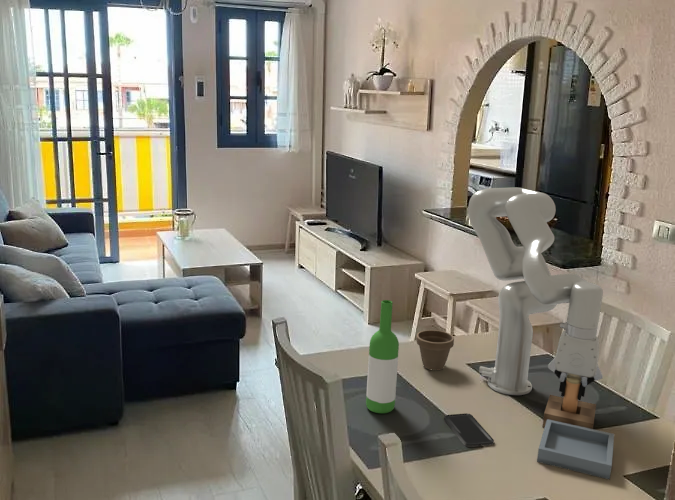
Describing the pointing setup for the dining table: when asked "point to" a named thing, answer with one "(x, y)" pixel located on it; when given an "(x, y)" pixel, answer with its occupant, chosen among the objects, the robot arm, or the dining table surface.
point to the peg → (571, 393)
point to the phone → (468, 430)
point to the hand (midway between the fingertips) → (571, 395)
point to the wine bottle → (382, 364)
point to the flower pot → (434, 348)
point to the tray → (576, 448)
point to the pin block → (581, 418)
